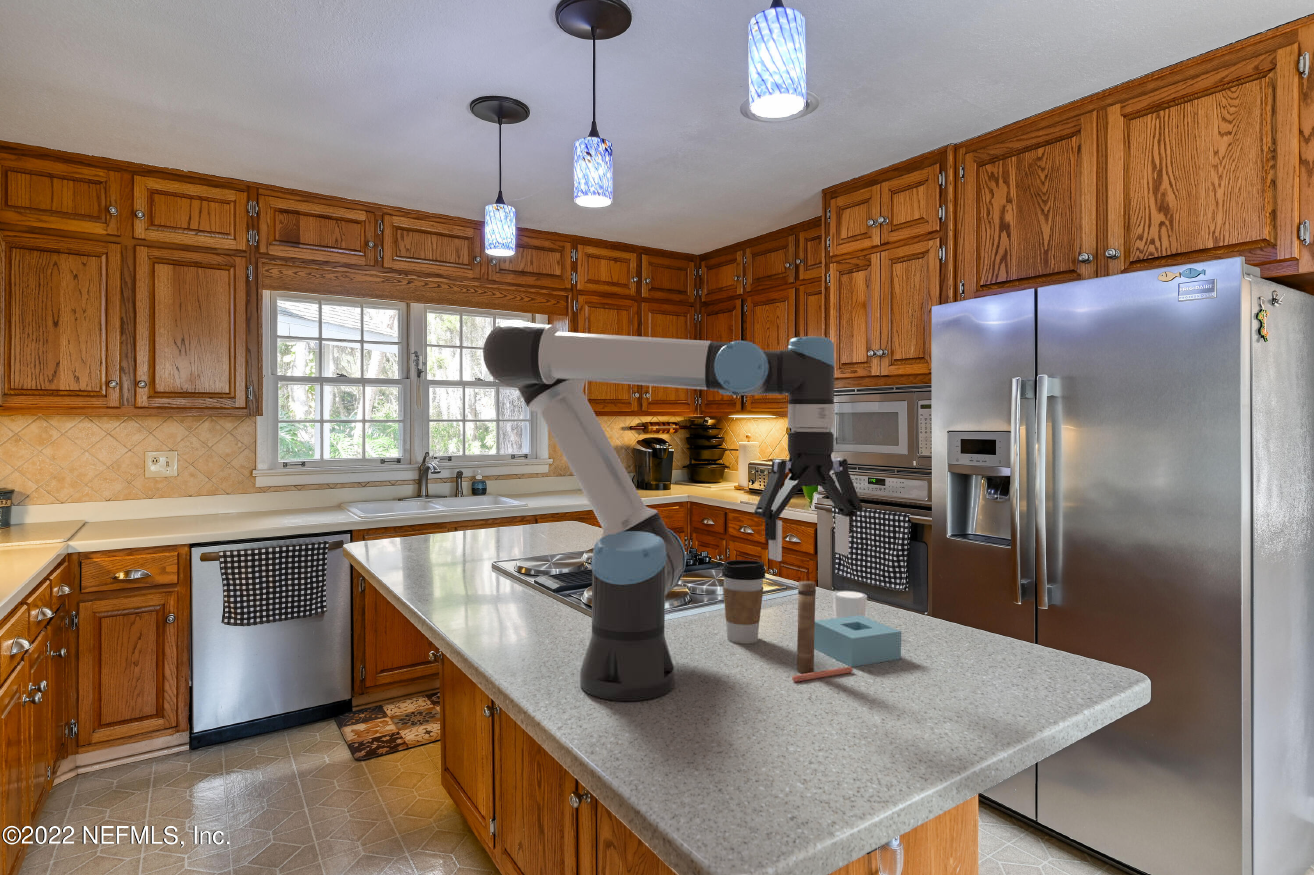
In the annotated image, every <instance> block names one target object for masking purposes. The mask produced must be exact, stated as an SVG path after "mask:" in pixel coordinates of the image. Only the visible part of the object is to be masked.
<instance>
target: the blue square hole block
mask: <svg viewBox="0 0 1314 875" xmlns="http://www.w3.org/2000/svg"><path fill="white" fill-rule="evenodd" d="M814 650H817V651H818V652H820V653H822V654H825V655H826V656H829V657H831V658H832V659H834V660H836V661H838V662H841V663H842V664H844V665H846V666H847V667H852V668H853V667H860V666H865V665H872V664H878V663H885V662H889V661H895V660H896V661H897V660H901V656H902V630H899V629H897V628H894V627H892V626H889V625H886V624H884V623H881V622H879V621H877V620H874V619H871V618H869V617H866V616H865V617H864V616H861V615H857V616H849V617H841V618H834V617H833V618H827V619H819V620H815V636H814Z"/></svg>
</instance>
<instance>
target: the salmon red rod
mask: <svg viewBox="0 0 1314 875" xmlns="http://www.w3.org/2000/svg"><path fill="white" fill-rule="evenodd" d="M853 670H854V669H853V667H850V666H844V667H839V668H838V667H837V668H832V669H831V668H830V669H826V670H820V671H814V672H812V673H806V674H803V673H800V674H795V675H792V678H791V680H792V681H793V682H795V683H797V682H802V681H808V680H816V679H820V678H821V679H822V678H826V677H832V676H838V675H845V674H851V673H852V672H853Z"/></svg>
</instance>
